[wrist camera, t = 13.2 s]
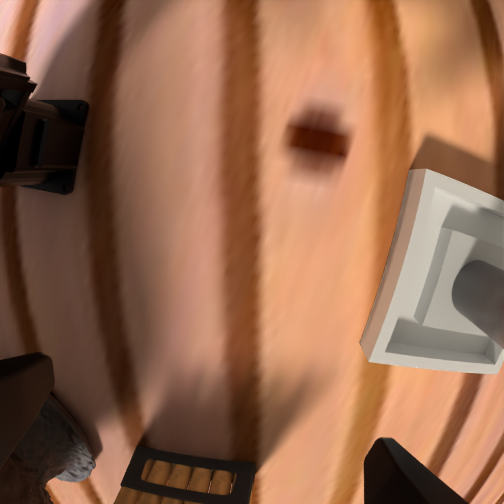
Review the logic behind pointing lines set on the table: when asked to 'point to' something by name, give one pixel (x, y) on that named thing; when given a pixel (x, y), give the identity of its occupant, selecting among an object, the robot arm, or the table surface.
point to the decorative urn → (45, 457)
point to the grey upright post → (464, 287)
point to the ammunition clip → (184, 479)
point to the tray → (415, 273)
